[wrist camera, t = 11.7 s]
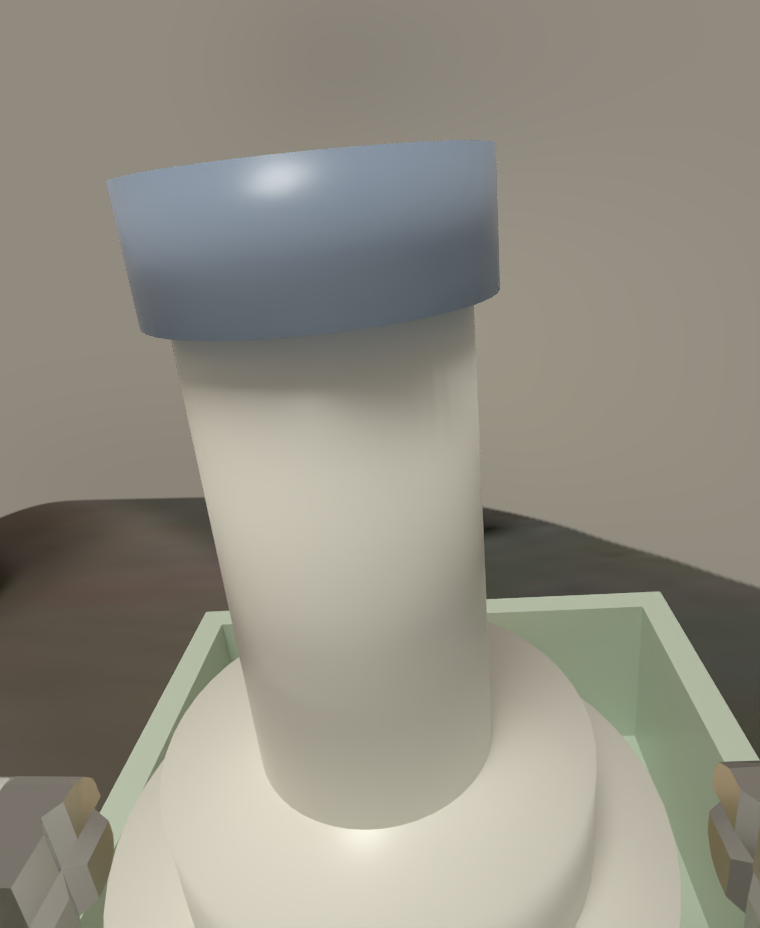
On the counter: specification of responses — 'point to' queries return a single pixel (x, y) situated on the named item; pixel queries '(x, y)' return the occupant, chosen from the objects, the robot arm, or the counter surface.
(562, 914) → the milk bottle
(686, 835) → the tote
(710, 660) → the counter surface
